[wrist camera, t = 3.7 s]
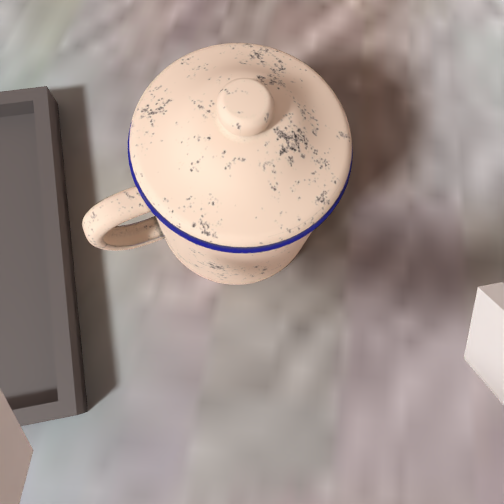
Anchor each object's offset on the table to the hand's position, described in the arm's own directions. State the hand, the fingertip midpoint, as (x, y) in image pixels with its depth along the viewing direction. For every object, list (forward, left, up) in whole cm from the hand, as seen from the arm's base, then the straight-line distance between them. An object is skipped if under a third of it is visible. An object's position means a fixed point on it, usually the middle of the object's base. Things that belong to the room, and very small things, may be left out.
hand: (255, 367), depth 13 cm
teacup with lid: (0, -8, -12) cm, 15 cm away
